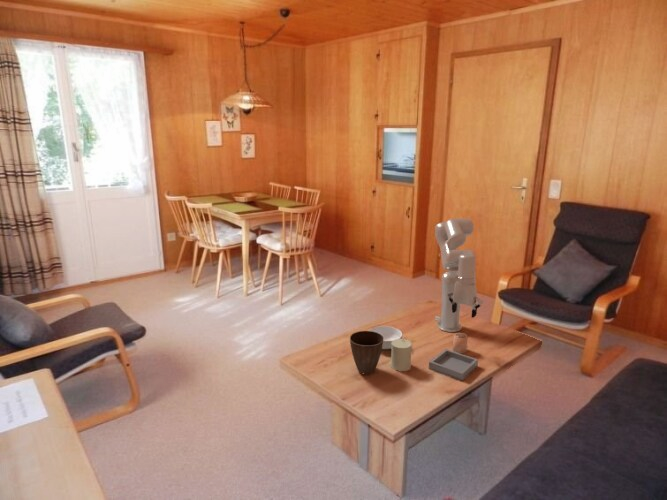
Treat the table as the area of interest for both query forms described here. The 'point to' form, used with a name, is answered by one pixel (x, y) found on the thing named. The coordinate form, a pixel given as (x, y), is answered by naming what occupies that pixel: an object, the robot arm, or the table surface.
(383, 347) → the cereal bowl
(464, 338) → the terracotta cup
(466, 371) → the grey tray
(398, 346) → the pillar candle
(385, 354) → the table surface
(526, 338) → the table surface
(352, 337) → the plant pot
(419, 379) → the table surface
